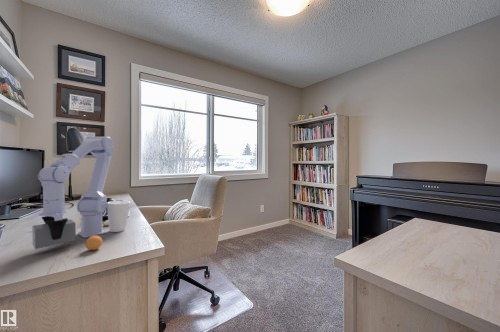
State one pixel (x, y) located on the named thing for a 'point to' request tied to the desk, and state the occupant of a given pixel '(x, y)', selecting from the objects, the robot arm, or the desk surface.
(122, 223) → the foam cup
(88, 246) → the ball
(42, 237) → the grey rectangular brick
